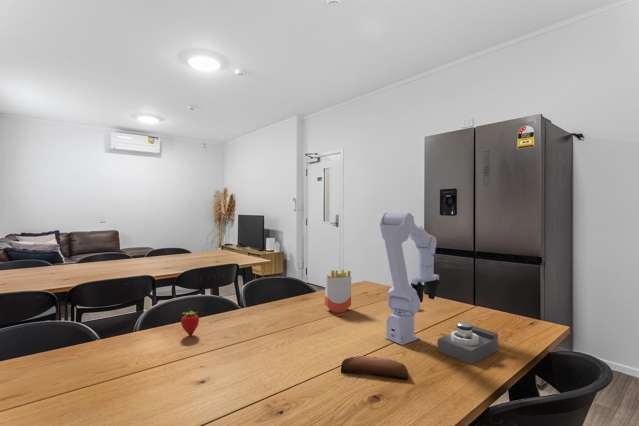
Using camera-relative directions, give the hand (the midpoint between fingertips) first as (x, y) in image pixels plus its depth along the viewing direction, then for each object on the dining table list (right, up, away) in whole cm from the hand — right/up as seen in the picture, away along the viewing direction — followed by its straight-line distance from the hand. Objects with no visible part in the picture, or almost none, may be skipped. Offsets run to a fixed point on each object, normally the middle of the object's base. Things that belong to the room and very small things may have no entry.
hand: (425, 300), depth 131 cm
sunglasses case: (-26, -11, -37) cm, 46 cm away
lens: (+4, -6, -26) cm, 26 cm away
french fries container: (-33, -9, +18) cm, 39 cm away
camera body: (+6, -10, -24) cm, 27 cm away
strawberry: (-87, -10, -12) cm, 88 cm away
